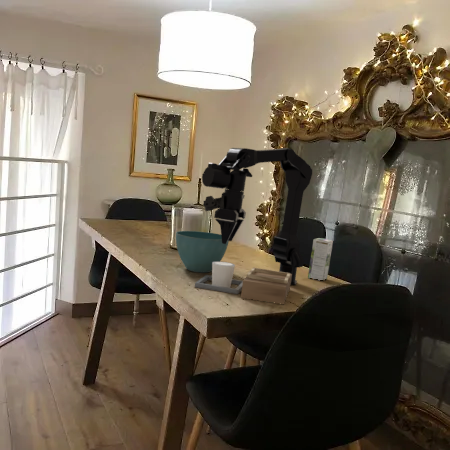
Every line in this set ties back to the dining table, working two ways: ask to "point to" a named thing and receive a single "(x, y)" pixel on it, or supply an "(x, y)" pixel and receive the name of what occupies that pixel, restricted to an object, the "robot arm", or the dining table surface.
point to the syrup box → (320, 259)
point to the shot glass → (222, 273)
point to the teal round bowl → (200, 249)
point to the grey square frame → (219, 288)
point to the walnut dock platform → (266, 285)
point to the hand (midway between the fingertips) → (226, 242)
